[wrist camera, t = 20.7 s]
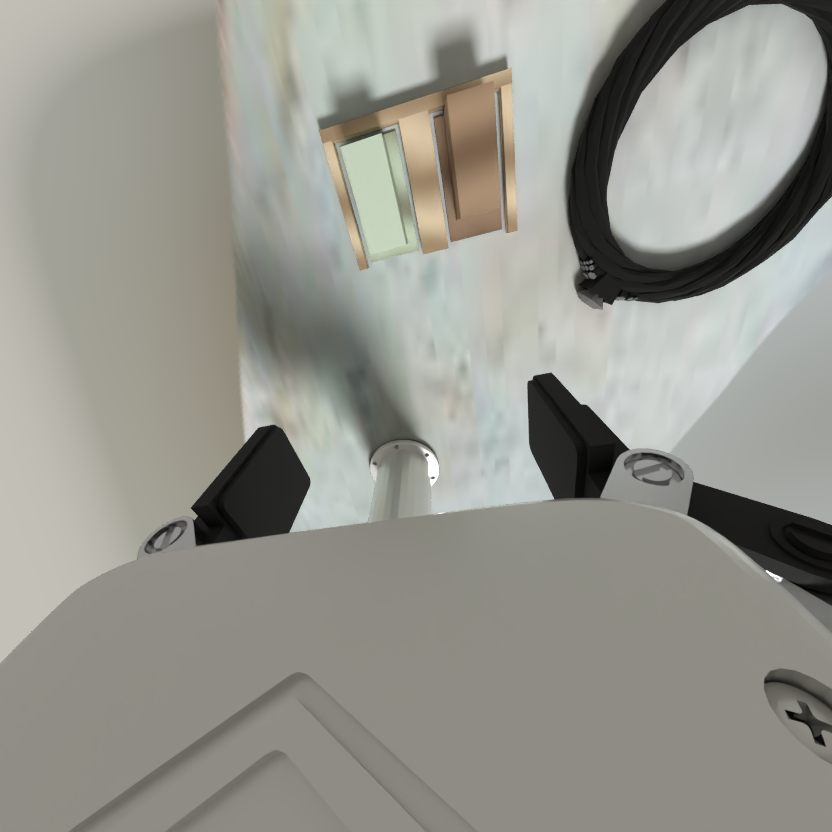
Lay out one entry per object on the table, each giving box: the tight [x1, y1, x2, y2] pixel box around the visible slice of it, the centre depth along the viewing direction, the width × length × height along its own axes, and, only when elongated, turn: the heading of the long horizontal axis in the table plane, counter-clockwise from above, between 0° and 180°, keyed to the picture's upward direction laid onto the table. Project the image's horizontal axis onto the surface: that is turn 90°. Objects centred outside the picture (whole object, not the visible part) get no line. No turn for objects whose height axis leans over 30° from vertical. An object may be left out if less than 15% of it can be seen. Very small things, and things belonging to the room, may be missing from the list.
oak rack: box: [319, 68, 517, 270], centre depth 32 cm, size 13×19×1 cm
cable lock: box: [569, 0, 832, 309], centre depth 31 cm, size 28×4×30 cm
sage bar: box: [340, 133, 408, 255], centre depth 31 cm, size 9×4×5 cm, turn 14°
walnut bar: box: [443, 81, 501, 220], centre depth 30 cm, size 9×4×5 cm, turn 12°
